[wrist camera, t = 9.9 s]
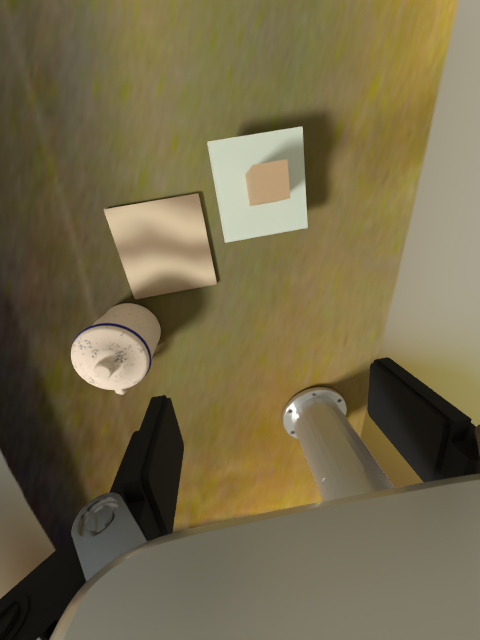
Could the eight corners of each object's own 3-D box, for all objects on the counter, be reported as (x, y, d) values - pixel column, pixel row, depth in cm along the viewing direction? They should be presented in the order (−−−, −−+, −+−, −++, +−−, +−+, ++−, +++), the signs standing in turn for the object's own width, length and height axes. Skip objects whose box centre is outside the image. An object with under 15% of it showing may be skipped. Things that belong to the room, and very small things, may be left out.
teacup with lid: (97, 298, 35) (49, 332, 25) (163, 303, 37) (144, 338, 26) (104, 369, 40) (65, 424, 29) (162, 371, 41) (146, 424, 31)
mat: (216, 283, 37) (217, 284, 36) (136, 298, 36) (134, 299, 36) (198, 193, 32) (198, 193, 31) (105, 209, 31) (103, 209, 31)
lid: (304, 227, 31) (325, 229, 25) (224, 241, 30) (228, 247, 24) (298, 130, 27) (323, 106, 21) (207, 145, 26) (207, 124, 21)
